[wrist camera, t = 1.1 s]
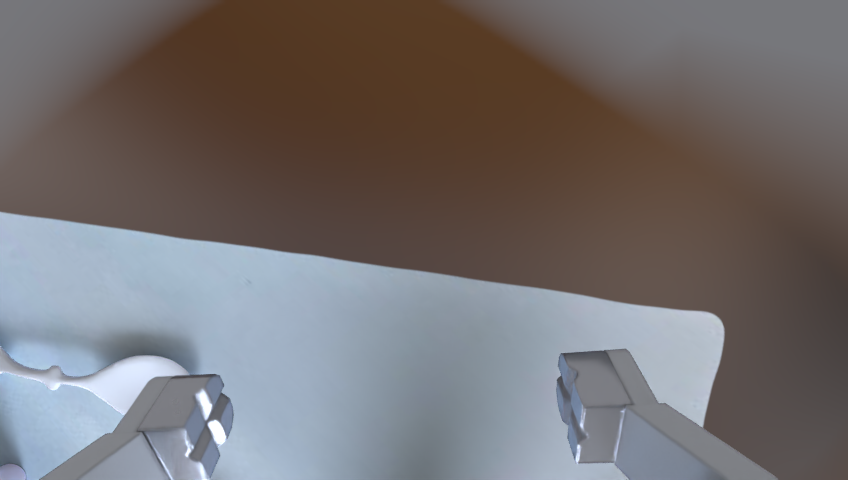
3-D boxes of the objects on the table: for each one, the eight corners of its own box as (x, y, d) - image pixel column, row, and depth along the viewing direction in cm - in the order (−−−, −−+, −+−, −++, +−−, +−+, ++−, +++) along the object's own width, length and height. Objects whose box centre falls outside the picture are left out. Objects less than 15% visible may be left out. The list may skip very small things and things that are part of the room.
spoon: (-53, 310, 58) (-81, 318, 54) (208, 359, 60) (196, 370, 57) (-62, 379, 58) (-90, 391, 55) (196, 424, 61) (184, 438, 57)
